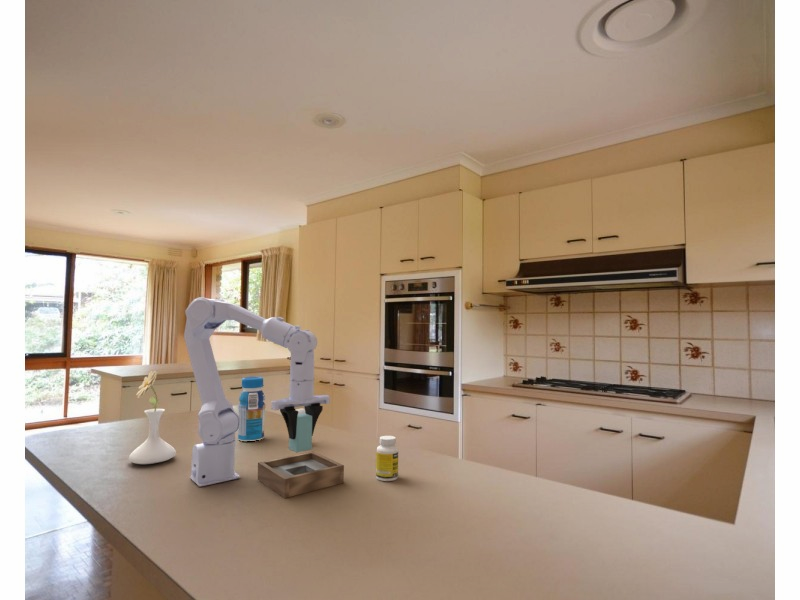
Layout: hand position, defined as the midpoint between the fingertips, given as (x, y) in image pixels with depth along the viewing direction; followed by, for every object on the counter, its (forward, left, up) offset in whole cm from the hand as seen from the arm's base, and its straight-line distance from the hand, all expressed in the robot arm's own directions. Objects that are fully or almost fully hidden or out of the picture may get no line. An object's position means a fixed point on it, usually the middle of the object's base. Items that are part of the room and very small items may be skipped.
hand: (301, 436), depth 106 cm
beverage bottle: (+5, +46, -11) cm, 47 cm away
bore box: (0, 0, -10) cm, 10 cm away
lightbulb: (+15, +31, -11) cm, 36 cm away
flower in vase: (-25, +39, -11) cm, 47 cm away
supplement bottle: (+17, -11, -11) cm, 23 cm away
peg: (0, 0, -3) cm, 3 cm away
